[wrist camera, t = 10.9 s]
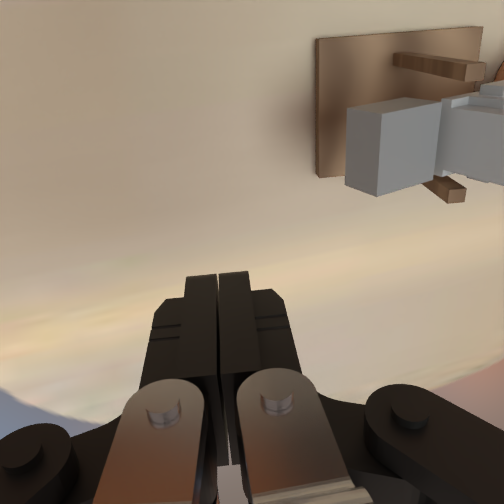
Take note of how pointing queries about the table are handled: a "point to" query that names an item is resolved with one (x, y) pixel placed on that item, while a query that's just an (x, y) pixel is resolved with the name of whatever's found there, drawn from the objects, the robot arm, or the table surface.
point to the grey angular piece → (425, 140)
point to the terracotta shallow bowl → (500, 73)
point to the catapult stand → (390, 84)
